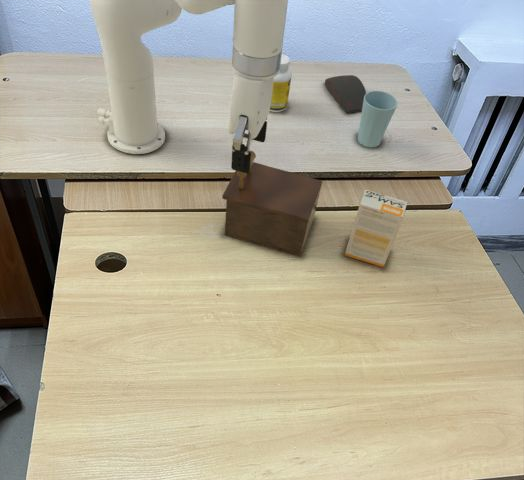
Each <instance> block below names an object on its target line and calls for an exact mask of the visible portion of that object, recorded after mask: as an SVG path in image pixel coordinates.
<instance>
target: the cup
mask: <svg viewBox="0 0 524 480" xmlns="http://www.w3.org/2000/svg"><path fill="white" fill-rule="evenodd" d="M398 103H399V102H398V100H397V98H396V97H395V96H394V95H393V94H391V93H388V92H386V91H383V90H370V91H368V92H366V94H365V96H364V101H363V107H362V111H361V113H360V114H361V115H360V119H359V120H360V121H359V125H358V126H359V127H358V132H357V142H358V143H359V144H360V145H361V146H362V147H363V146H364V147H366V148H377V147H378V146H380V144H381V143H382V140H383V138H384V135H385V134H386V131H387V128H388V127H389V124H390V123H391V120H392V118H393V115H394V114H395V112H396V109H397V107H398V105H399V104H398Z"/></svg>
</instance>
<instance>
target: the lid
mask: <svg viewBox="0 0 524 480" xmlns="http://www.w3.org/2000/svg"><path fill="white" fill-rule="evenodd" d="M249 152H251V161H250V171H249V173H244V172H240V171H236V170H234V173H233V175H232V176H231V179H230V180H229V183H228V184H227V186H226V188H225V190H224V192H223V194H222V199H223V200H226V201H227V200H230V201H233V202H237V203H240V204H244V205H248V206H251V207H255V208H258V209H262V210H265V211H269V212H272V213H276V214H280V215H283V216H287V217H290V218H294V219H297V220H301V221H304V222H308V221H309V218H310V215H311V213H312V210H313V207H314V204H315V202H316V199H317V196H318V193H319V191H320V192H321V190H320V188H321V189H322V186H321V185H323V180H320V179H317V178H313V177H309V176H306V175H302V174H298V173H294V172H291V171H288V170H284V169H280V168H277V167H273V166H270V165H265V164H262V163H259V162H255V160H256V157H257V154H256V153H255V152H254V151H253V150H250V151H249Z"/></svg>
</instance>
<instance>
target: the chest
mask: <svg viewBox="0 0 524 480" xmlns="http://www.w3.org/2000/svg"><path fill="white" fill-rule="evenodd" d="M322 185H323V184H322ZM322 185H321V188H320V191H319V193H318V196H317V199H316V202H315V204H314V207H313V210H312V213H311V215H310V218H309V221H308V222H304V221H301V220H297V219H294V218H290V217H287V216H283V215H280V214H276V213H272V212H269V211H265V210H262V209H258V208H255V207H251V206H248V205H244V204H240V203H237V202H233V201H230V200H226V203H225V204H226V206H225V219H224V220H225V222H224V236H227V237H231V238H233V239H237V240H240V241H244V242H248V243H251V244H254V245H257V246H262V247H264V248H269V249H272V250H277V251H278V252H282V253H285V254H289V255H293V256H297V257H301V255H302V252H303V250H304V247H305V244H306V241H307V240H308V239H307V238H308V236H309V233H310V230H311V227H312V225H313V222H314V219H315V215H316V211H317V206H318V203H319V198H320V194H321V190H322Z"/></svg>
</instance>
